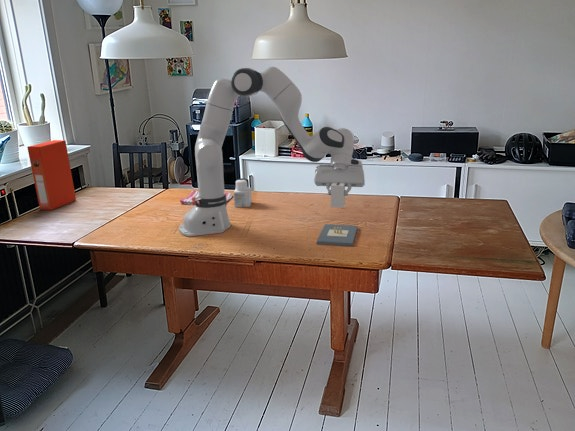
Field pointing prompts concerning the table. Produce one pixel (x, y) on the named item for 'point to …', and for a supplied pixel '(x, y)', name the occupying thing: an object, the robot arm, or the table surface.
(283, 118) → the robot arm
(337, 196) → the block
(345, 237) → the header board
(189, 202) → the dish towel
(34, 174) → the file binder
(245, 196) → the container
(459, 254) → the table surface
